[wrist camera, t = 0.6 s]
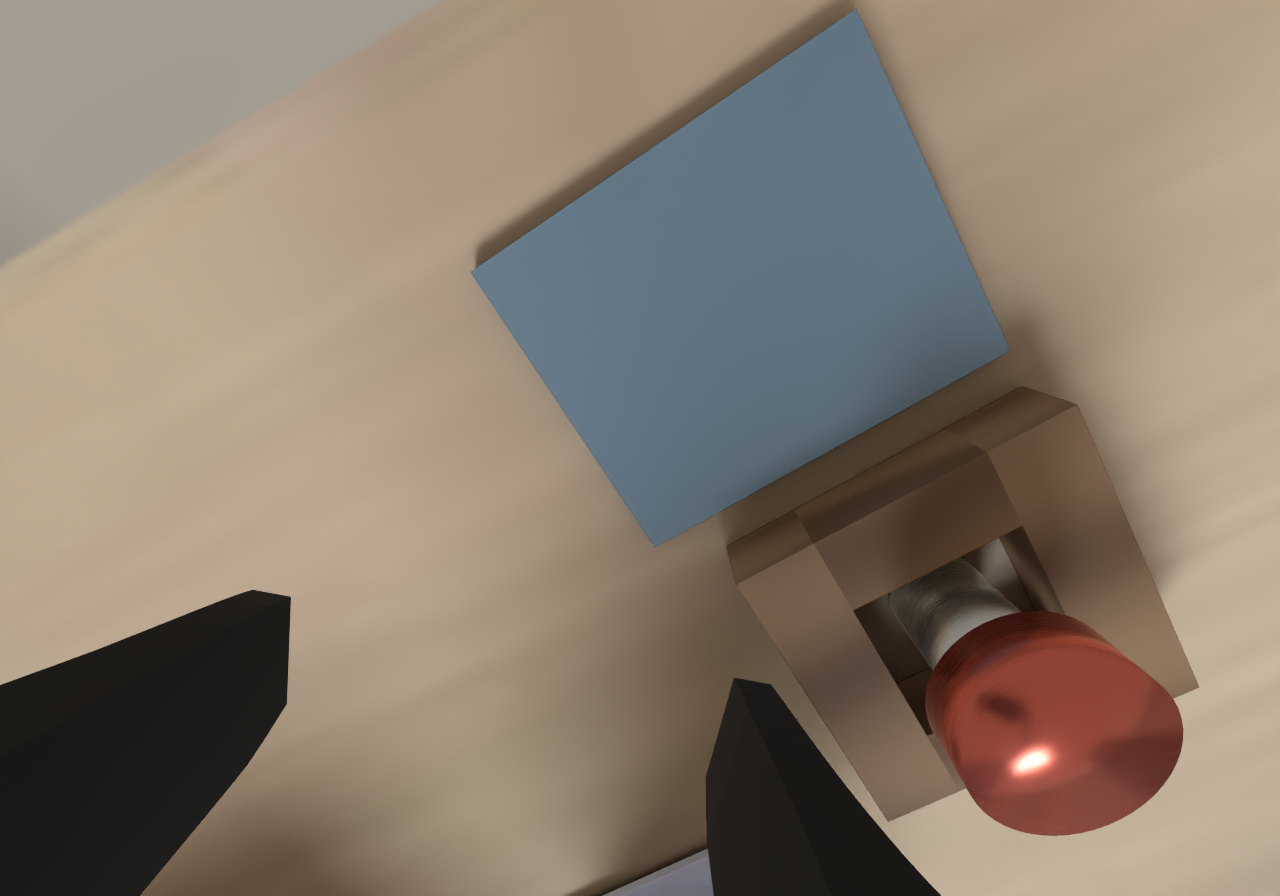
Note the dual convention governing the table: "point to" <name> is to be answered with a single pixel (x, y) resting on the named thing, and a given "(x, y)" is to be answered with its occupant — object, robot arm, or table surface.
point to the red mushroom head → (1036, 707)
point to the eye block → (931, 537)
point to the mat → (749, 289)
